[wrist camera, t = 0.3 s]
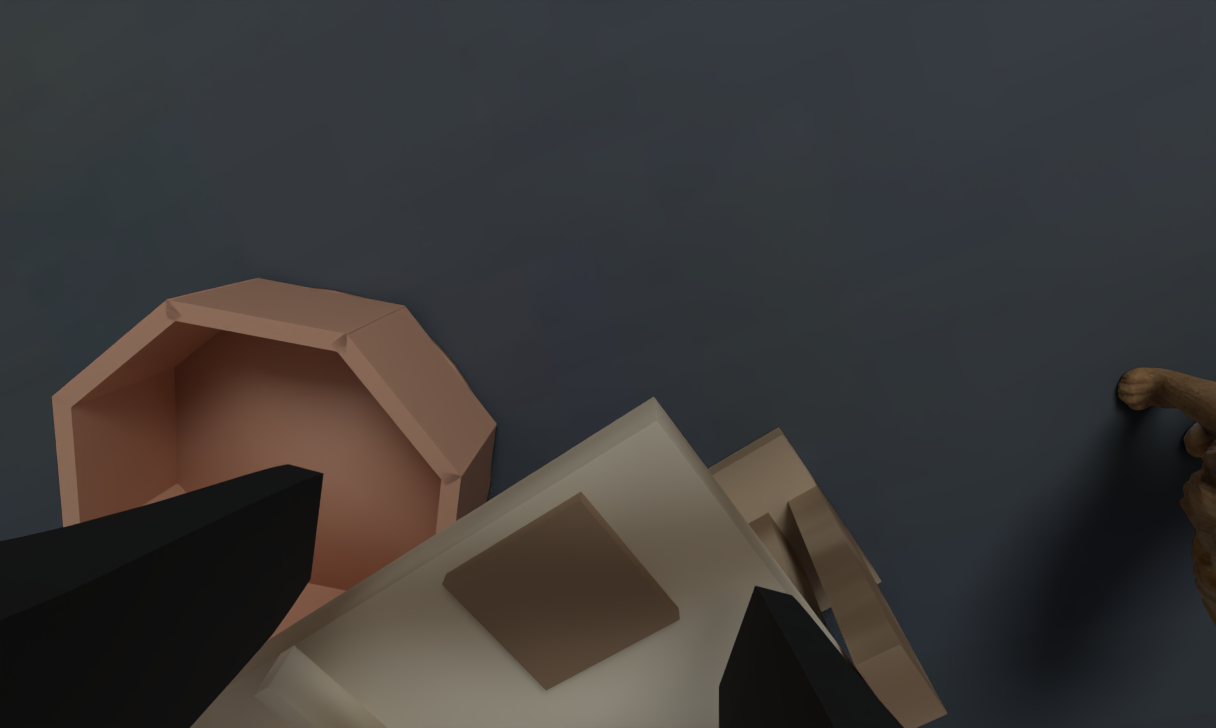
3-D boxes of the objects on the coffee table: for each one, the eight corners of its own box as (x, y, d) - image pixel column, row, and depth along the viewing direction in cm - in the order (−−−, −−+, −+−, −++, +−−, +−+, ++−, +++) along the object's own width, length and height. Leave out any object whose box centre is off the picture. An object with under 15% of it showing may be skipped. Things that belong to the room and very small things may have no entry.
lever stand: (875, 570, 20) (992, 779, 13) (466, 779, 24) (385, 1029, 17) (778, 427, 19) (849, 570, 12) (366, 669, 23) (235, 887, 16)
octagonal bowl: (558, 497, 21) (536, 568, 17) (318, 644, 23) (251, 736, 19) (339, 214, 19) (257, 222, 15) (101, 408, 21) (-22, 458, 17)
